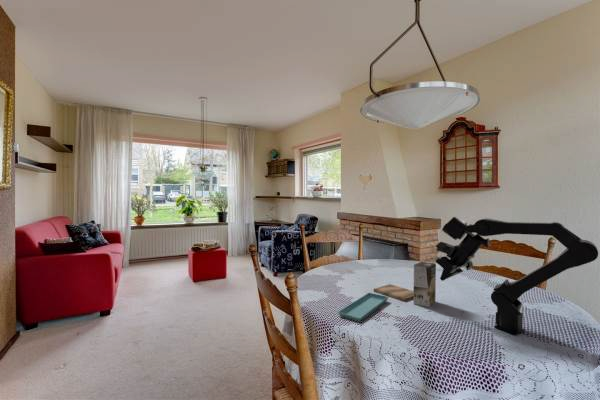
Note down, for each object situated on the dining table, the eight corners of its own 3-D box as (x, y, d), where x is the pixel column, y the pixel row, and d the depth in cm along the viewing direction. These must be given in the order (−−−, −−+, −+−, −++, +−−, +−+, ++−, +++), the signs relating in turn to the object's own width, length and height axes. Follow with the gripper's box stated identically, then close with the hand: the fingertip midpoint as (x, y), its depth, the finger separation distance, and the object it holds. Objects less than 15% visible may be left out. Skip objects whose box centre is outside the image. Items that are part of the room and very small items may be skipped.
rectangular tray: (360, 324, 103) (360, 317, 103) (337, 317, 109) (337, 310, 109) (388, 302, 124) (388, 296, 123) (368, 298, 129) (368, 292, 129)
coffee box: (429, 307, 117) (429, 267, 116) (413, 304, 121) (413, 264, 120) (435, 301, 124) (436, 263, 123) (420, 297, 128) (420, 261, 128)
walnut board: (420, 295, 130) (420, 292, 130) (404, 301, 123) (404, 298, 123) (389, 286, 143) (389, 284, 143) (373, 291, 136) (373, 288, 136)
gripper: (459, 234, 117) (436, 263, 123) (437, 233, 105) (412, 266, 111) (484, 253, 110) (458, 283, 116) (463, 255, 98) (436, 288, 104)
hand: (441, 279), depth 112 cm, fingers closed
